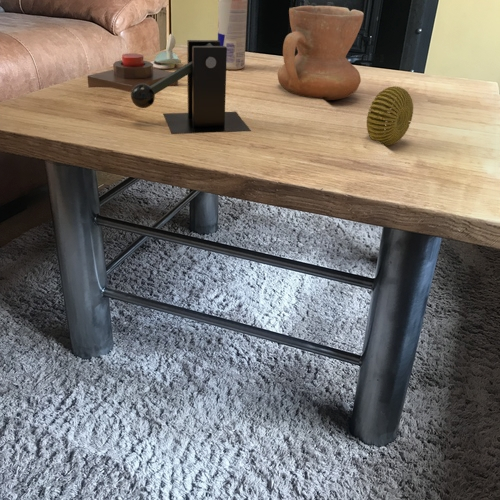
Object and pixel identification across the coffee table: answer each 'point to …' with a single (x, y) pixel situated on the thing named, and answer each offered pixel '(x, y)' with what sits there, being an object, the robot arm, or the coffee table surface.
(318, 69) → the ceramic jug
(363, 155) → the coffee table surface
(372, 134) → the sculpture
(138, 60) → the button
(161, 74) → the button block
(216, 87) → the switch bracket
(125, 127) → the coffee table surface
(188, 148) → the coffee table surface
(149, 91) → the switch lever
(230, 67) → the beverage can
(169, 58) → the pacifier
